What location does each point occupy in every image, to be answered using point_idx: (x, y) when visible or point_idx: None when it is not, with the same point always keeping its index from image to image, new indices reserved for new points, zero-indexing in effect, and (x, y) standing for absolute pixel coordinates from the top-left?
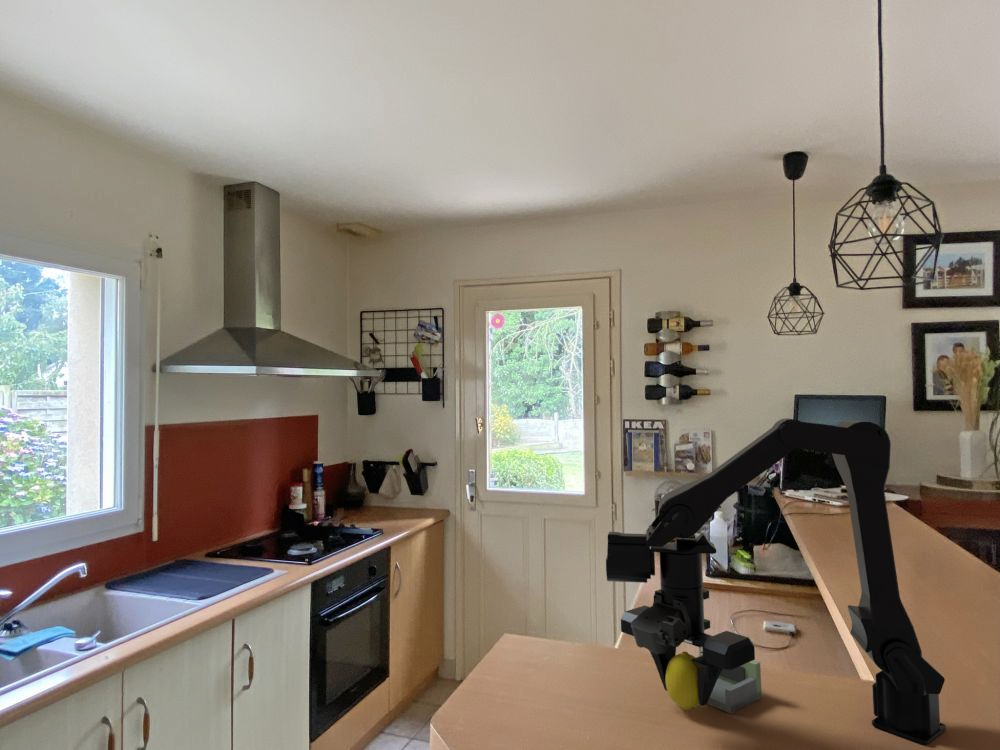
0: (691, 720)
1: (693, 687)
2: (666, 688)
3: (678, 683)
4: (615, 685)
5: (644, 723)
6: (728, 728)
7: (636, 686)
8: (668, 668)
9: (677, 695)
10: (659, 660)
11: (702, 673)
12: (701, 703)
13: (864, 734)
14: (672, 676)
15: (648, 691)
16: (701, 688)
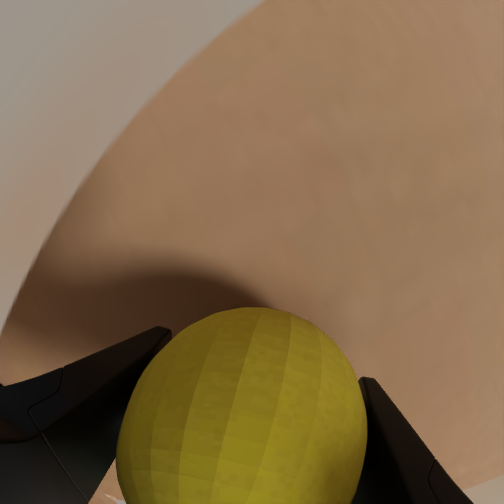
0: (216, 273)
1: (147, 372)
2: (364, 382)
3: (217, 365)
4: None
5: (373, 121)
6: (103, 288)
7: (484, 381)
8: (327, 468)
9: (252, 318)
10: (417, 499)
11: (9, 404)
12: (153, 329)
13: (5, 373)
14: (270, 407)
15: (446, 379)
16: (94, 362)
